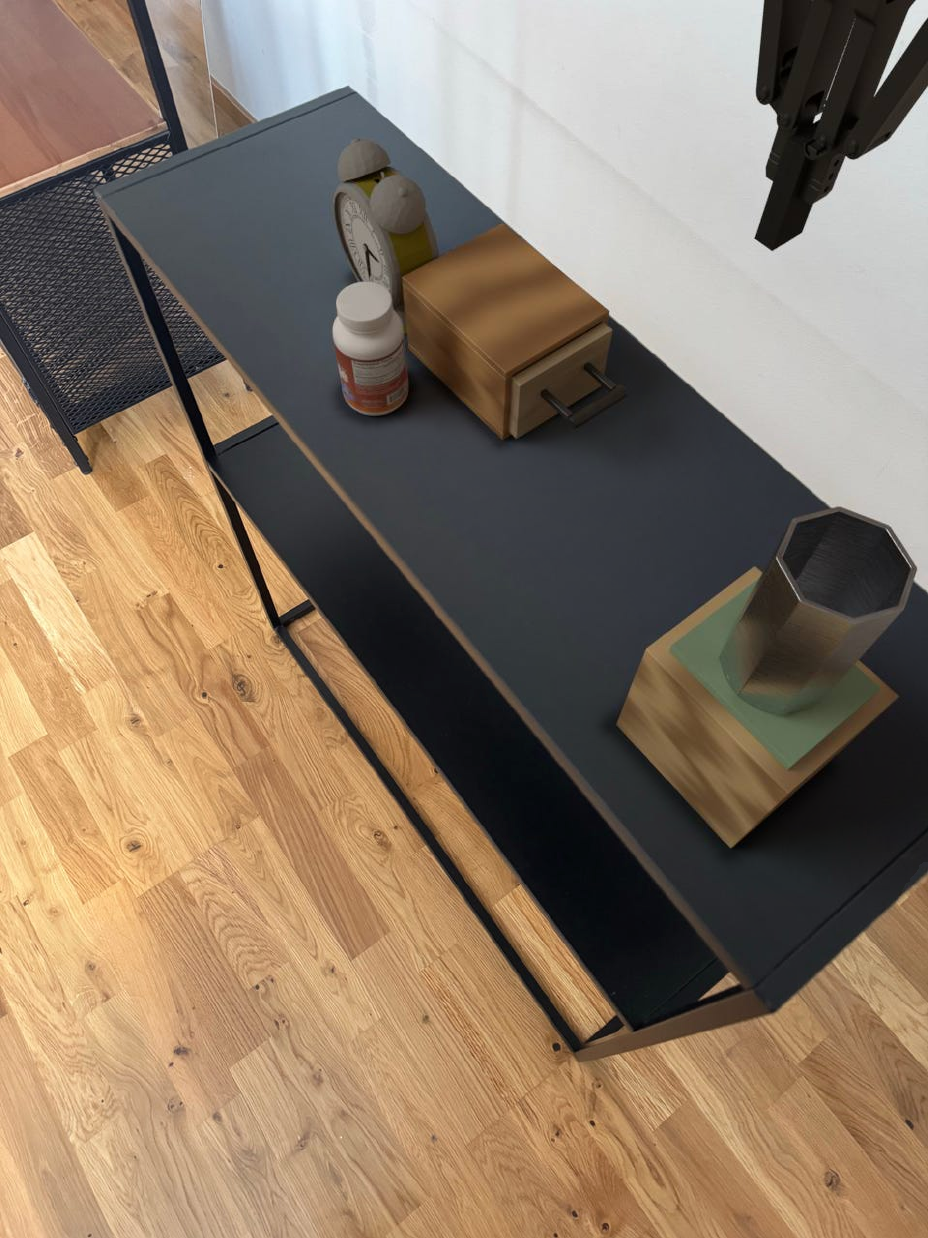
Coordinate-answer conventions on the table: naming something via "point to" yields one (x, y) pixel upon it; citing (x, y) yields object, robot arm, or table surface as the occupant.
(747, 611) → the metal cup
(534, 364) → the drawer
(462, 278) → the cabinet
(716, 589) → the table surface
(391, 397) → the pill bottle
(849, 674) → the mat
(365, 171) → the alarm clock
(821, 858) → the table surface
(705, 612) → the stand
